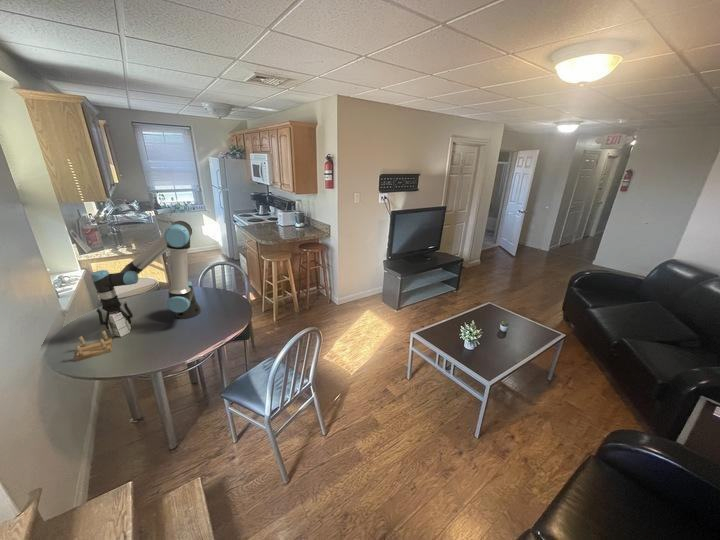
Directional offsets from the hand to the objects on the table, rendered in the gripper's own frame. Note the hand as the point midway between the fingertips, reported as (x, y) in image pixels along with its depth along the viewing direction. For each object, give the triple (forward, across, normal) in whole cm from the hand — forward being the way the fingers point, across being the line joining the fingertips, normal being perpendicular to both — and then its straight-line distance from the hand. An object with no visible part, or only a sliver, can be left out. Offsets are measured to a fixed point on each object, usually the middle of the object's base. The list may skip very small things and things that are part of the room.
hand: (121, 330), depth 171 cm
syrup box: (+2, 0, 0) cm, 2 cm away
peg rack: (+2, -11, -11) cm, 16 cm away
